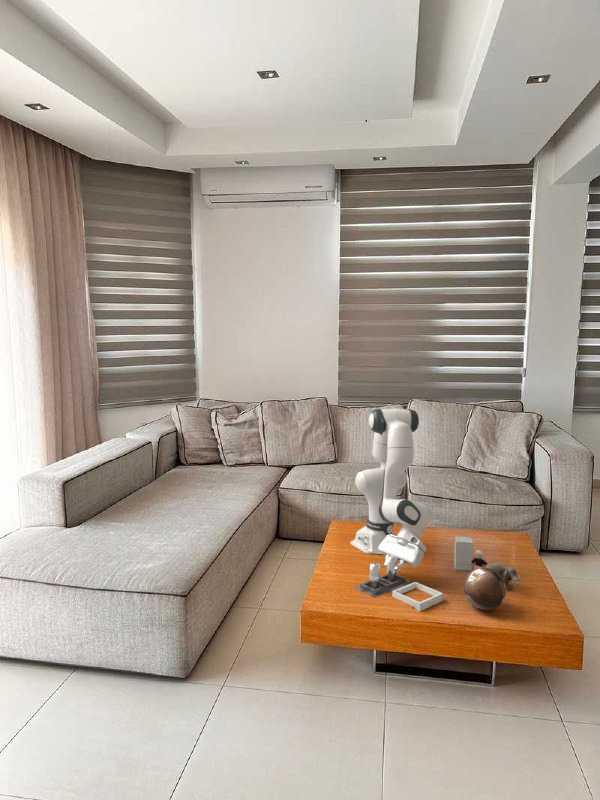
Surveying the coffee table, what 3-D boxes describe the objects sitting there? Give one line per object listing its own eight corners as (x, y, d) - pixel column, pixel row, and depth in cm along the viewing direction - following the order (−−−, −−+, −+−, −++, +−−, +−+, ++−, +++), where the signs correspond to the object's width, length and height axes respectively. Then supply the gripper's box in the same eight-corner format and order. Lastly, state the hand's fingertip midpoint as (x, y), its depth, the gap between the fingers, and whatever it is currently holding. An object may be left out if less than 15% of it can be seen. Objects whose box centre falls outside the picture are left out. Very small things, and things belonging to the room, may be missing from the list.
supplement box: (472, 571, 257) (473, 542, 256) (454, 569, 259) (455, 541, 257) (471, 564, 265) (472, 537, 263) (454, 563, 266) (454, 535, 265)
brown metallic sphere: (454, 606, 225) (455, 567, 224) (479, 595, 234) (480, 558, 233) (488, 621, 213) (490, 581, 212) (513, 609, 223) (514, 570, 221)
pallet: (353, 589, 240) (353, 583, 239) (390, 575, 253) (390, 569, 253) (374, 600, 230) (375, 594, 230) (412, 584, 244) (412, 578, 244)
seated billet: (367, 588, 239) (367, 563, 238) (374, 585, 241) (374, 561, 240) (374, 591, 236) (375, 567, 235) (381, 588, 238) (382, 564, 237)
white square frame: (392, 598, 232) (392, 591, 231) (415, 588, 240) (415, 581, 240) (419, 611, 221) (419, 603, 221) (442, 600, 230) (443, 593, 229)
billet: (384, 580, 245) (384, 556, 244) (391, 577, 247) (391, 554, 246) (391, 583, 242) (392, 559, 241) (398, 580, 244) (399, 557, 243)
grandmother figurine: (468, 580, 248) (469, 550, 247) (469, 576, 252) (470, 547, 250) (487, 582, 246) (489, 553, 244) (488, 579, 249) (489, 549, 248)
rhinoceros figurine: (483, 570, 252) (502, 548, 243) (508, 596, 246) (529, 574, 237) (474, 577, 246) (493, 555, 238) (499, 604, 240) (520, 582, 232)
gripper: (385, 529, 255) (368, 556, 250) (423, 542, 239) (406, 572, 234) (392, 536, 258) (376, 564, 253) (429, 550, 242) (413, 580, 238)
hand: (390, 568), depth 244 cm, fingers closed on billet, 4 cm apart
